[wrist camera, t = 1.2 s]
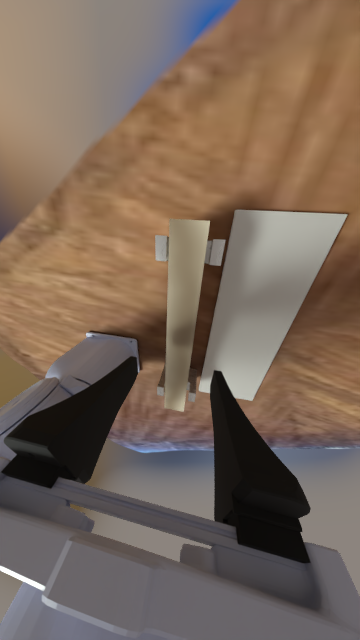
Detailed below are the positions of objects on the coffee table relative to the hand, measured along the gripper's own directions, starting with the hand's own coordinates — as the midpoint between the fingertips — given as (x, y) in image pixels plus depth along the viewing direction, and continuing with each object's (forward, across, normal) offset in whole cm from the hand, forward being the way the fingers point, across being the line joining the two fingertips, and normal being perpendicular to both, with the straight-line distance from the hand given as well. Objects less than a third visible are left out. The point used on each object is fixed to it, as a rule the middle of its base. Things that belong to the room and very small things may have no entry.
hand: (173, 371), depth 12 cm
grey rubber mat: (+9, -9, 0) cm, 13 cm away
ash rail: (+6, 0, 0) cm, 6 cm away
